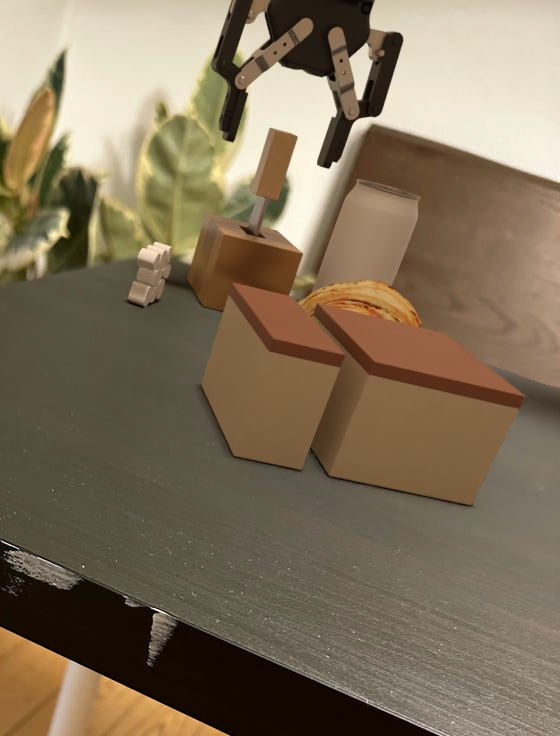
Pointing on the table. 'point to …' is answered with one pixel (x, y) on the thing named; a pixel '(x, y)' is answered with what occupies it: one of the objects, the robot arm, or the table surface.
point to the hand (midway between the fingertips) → (275, 154)
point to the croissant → (364, 300)
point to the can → (369, 235)
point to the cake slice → (269, 376)
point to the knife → (270, 174)
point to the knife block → (240, 261)
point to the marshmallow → (151, 273)
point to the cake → (410, 409)
